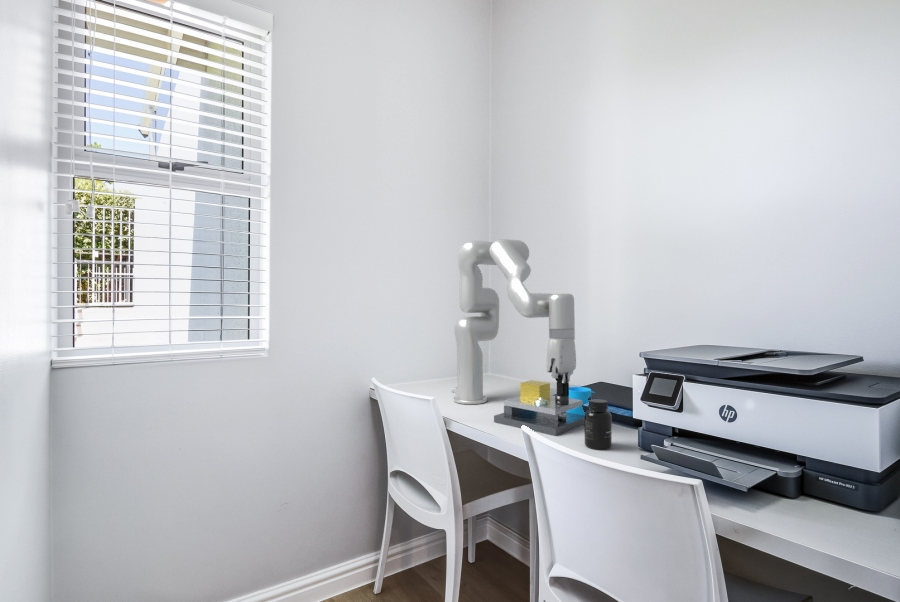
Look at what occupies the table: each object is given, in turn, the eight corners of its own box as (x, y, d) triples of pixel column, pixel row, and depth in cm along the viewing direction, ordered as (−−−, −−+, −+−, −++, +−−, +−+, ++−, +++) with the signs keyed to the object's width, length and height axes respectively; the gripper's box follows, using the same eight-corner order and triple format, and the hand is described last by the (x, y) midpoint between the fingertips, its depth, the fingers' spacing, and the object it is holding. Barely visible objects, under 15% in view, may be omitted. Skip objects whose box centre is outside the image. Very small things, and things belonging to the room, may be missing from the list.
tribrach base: (493, 422, 151) (493, 406, 151) (528, 411, 165) (528, 396, 165) (555, 435, 136) (555, 418, 136) (587, 422, 150) (587, 406, 150)
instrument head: (504, 405, 150) (504, 384, 150) (533, 397, 162) (533, 377, 161) (555, 415, 138) (555, 392, 137) (582, 405, 149) (582, 384, 149)
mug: (575, 417, 156) (575, 392, 156) (561, 411, 164) (561, 387, 164) (606, 414, 160) (606, 389, 160) (590, 408, 168) (590, 385, 168)
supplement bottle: (613, 451, 123) (613, 404, 122) (586, 449, 124) (586, 403, 124) (609, 442, 129) (609, 398, 129) (583, 441, 130) (583, 397, 130)
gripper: (563, 332, 153) (564, 390, 153) (537, 335, 142) (538, 398, 142) (585, 333, 148) (586, 393, 148) (560, 336, 137) (561, 401, 137)
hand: (562, 395), depth 145 cm, fingers closed
